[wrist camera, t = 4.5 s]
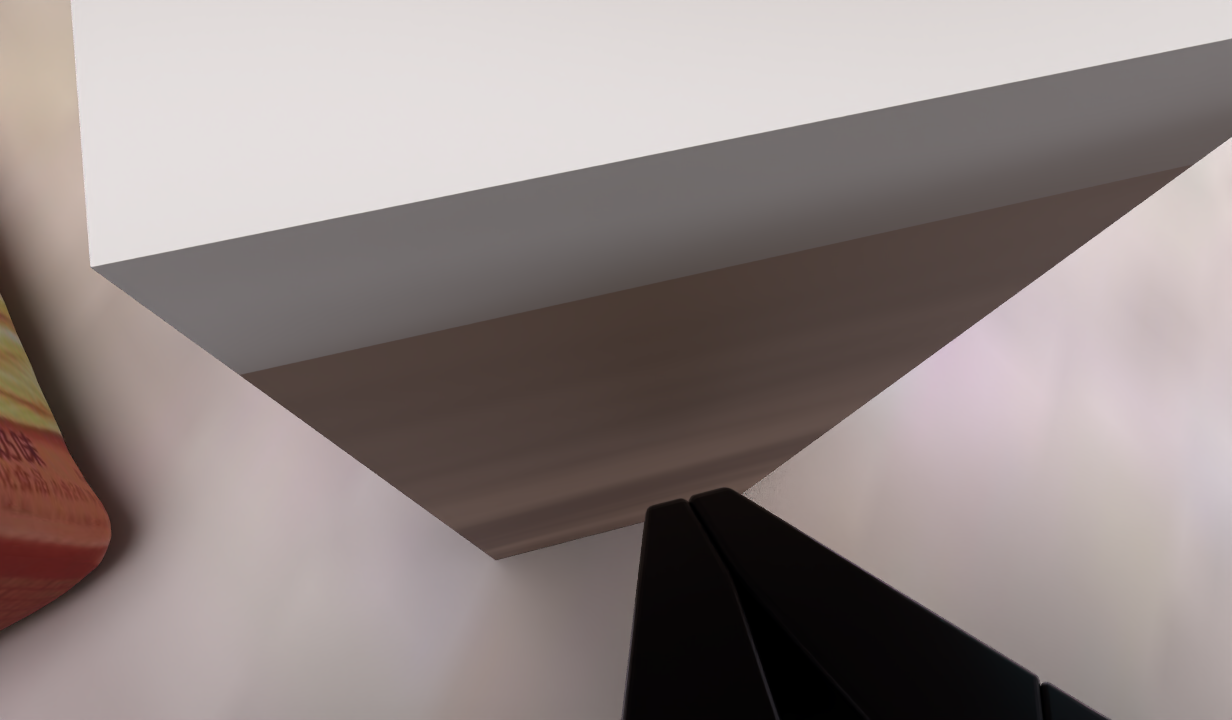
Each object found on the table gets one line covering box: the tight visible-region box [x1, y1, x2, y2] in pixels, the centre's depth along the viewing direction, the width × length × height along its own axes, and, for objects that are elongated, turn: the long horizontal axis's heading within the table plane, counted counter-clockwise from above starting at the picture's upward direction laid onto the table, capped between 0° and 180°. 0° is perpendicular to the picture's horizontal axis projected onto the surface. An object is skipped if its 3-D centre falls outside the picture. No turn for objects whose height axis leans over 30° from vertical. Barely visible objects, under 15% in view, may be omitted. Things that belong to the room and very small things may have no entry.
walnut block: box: [71, 0, 1232, 560], centre depth 10 cm, size 5×5×14 cm
